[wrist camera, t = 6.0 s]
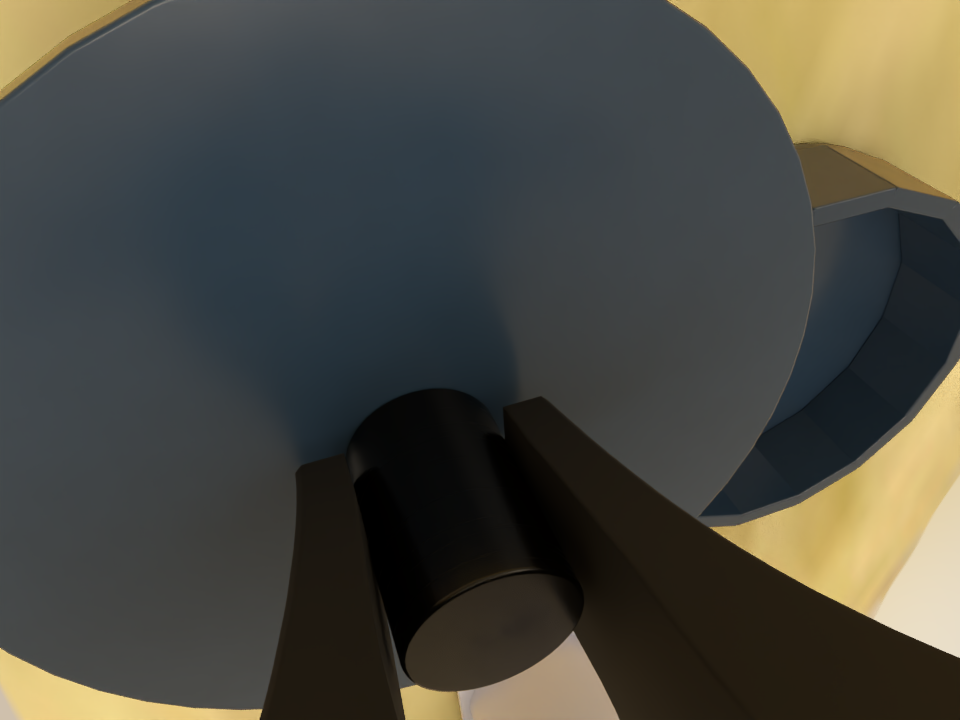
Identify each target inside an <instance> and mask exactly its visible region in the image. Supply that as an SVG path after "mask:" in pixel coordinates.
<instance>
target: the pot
mask: <svg viewBox="0 0 960 720" xmlns="http://www.w3.org/2000/svg"><path fill="white" fill-rule="evenodd" d="M794 146H795V148H796V150H797V153H798V155H799V157H800V160H801V164H802V168H803V172H804V176H805V180H806V184H807V187H808V191H809V195H810V199H811V203H812V213H813V225H814V236H815V247H816V250H815V266H814V282H813V294H812V299H811V304H810V309H809V314H808V319H807V324H806V329H805V334H804V337H803V340H802V343H801V346H800V349H799V352H798V355H797V358H796V361H795V364H794V367H793V370H792V373H791V375H790V378H789V380H788V382H787V384H786V386H785V389H784V391H783V393H782V395H781V397H780V399H779V402H778V404H777V406H776V408H775V410H774V412H773V414H772V416H771V417H770V419H769V421H768V423H767V424H766V426H765V428H764V429H763V431H762V433H761V434H760V436H759V438H758V440H757V441H756V443H755V445H754V446H753V448H752V449H751V451H750V452H749V454H748V455H747V456H746V458H745V459H744V461H743V462H742V463H741V465H740V466H739V468H738V469H737V470H736V472H735V473H734V475H733V476H732V477H731V479H730V480H729V481H728V483H727V484H726V485H725V486H724V487H723V488H722V490H721V491H720V492H719V493H718V494H717V496H716V497H715V498H714V499H713V500H712V501H711V503H710V504H709V505H708V506H707V507H706V508H705V510H704V511H703V512H702V513H701V514H700V515H699V516H698V517H697V518H696V519H697V520H699V521H700V522H701V523H703V524H704V525H706V526H707V527H722V526H736V525H740V524H743V523H746V522H749V521H752V520H754V519H757V518H760V517H763V516H766V515H769V514H772V513H775V512H777V511H780V510H783V509H786V508H789V507H792V506H795V505H797V504H799V503H801V502H803V501H804V500H806V499H808V498H809V497H811V496H813V495H814V494H816V493H818V492H819V491H821V490H823V489H824V488H826V487H828V486H829V485H831V484H833V483H834V482H836V481H838V480H839V479H841V478H843V477H844V476H846V475H848V474H849V473H851V472H853V471H854V470H856V469H857V468H859V467H860V466H861V465H862V464H863V463H865V462H866V461H867V460H868V459H869V458H870V457H871V456H873V455H874V454H875V453H876V452H877V451H878V450H879V449H881V448H882V447H883V446H884V445H885V444H886V443H887V442H889V441H890V440H891V439H892V438H893V437H894V436H895V435H896V434H898V433H899V432H900V431H901V430H902V429H903V428H904V427H906V426H907V425H908V424H909V423H910V422H911V421H912V420H913V419H914V418H915V417H916V415H917V414H918V413H919V411H920V410H921V409H922V408H923V406H924V405H925V404H926V402H927V401H928V400H929V399H930V397H931V396H932V395H933V393H934V392H935V391H936V389H937V388H938V387H939V386H940V384H941V383H942V382H943V380H944V379H945V378H946V377H947V375H948V374H949V373H950V371H951V370H952V369H953V368H954V366H955V365H956V364H957V362H958V361H959V359H960V203H959V202H958V201H956V200H955V199H953V198H951V197H949V196H948V195H946V194H944V193H942V192H940V191H939V190H937V189H935V188H933V187H931V186H929V185H928V184H926V183H924V182H922V181H920V180H919V179H917V178H915V177H913V176H911V175H910V174H908V173H906V172H904V171H902V170H901V169H899V168H897V167H895V166H893V165H892V164H890V163H888V162H886V161H884V160H883V159H879V158H876V157H872V156H868V155H865V154H863V153H861V152H858V151H855V150H853V149H850V148H847V147H844V146H838V145H831V144H825V143H821V144H796V145H794Z"/></svg>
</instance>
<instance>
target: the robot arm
mask: <svg viewBox="0 0 960 720" xmlns="http://www.w3.org/2000/svg"><path fill="white" fill-rule="evenodd" d="M503 418H504V434H505V441H506V443H507V445H508V447H509V449H510V451H511V453H512V455H513V457H514V458H515V460H516V462H517V464H518V466H519V468H520V470H521V472H522V474H523V476H524V478H525V479H526V481H527V483H528V485H529V487H530V489H531V491H532V493H533V495H534V497H535V499H536V501H537V502H538V504H539V506H540V508H541V510H542V512H543V514H544V516H545V518H546V520H547V522H548V523H549V525H550V527H551V529H552V531H553V533H554V535H555V537H556V539H557V541H558V543H559V545H560V546H561V548H562V550H563V552H564V554H565V556H566V558H567V560H568V562H569V564H570V566H571V567H572V569H573V571H574V573H575V575H576V577H577V579H578V581H579V583H580V585H581V587H582V590H583V593H584V607H583V612H582V615H581V618H580V620H579V622H578V624H577V625H576V627H575V628H574V630H573V631H572V633H571V634H570V635H569V636H568V638H567V639H566V640H565V641H564V642H563V643H562V644H561V645H560V646H559V647H558V648H557V649H556V650H554V651H553V652H552V653H551V654H550V655H548V656H547V657H546V658H544V659H543V660H542V661H540V662H539V663H537V664H535V665H534V666H532V667H531V668H529V669H527V670H525V671H523V672H522V673H519V674H517V675H515V676H513V677H511V678H509V679H506V680H504V681H501V682H498V683H495V684H492V685H489V686H486V687H482V688H478V689H473V690H467V691H458V692H457V695H458V700H459V706H460V712H461V717H462V720H960V658H958V657H956V656H953V655H951V654H949V653H946V652H944V651H942V650H939V649H937V648H934V647H932V646H930V645H928V644H926V643H923V642H921V641H919V640H916V639H914V638H912V637H909V636H907V635H905V634H903V633H900V632H898V631H896V630H894V629H891V628H889V627H887V626H885V625H883V624H881V623H879V622H877V621H875V620H873V619H871V618H869V617H867V616H865V615H863V614H861V613H859V612H857V611H855V610H853V609H851V608H849V607H847V606H845V605H843V604H841V603H839V602H837V601H835V600H833V599H831V598H829V597H827V596H825V595H823V594H821V593H819V592H817V591H815V590H813V589H811V588H809V587H807V586H805V585H804V584H802V583H800V582H798V581H796V580H795V579H793V578H791V577H789V576H788V575H786V574H784V573H782V572H780V571H779V570H777V569H775V568H773V567H771V566H770V565H768V564H766V563H765V562H763V561H761V560H760V559H758V558H756V557H755V556H753V555H751V554H750V553H748V552H746V551H745V550H743V549H741V548H740V547H738V546H737V545H735V544H733V543H732V542H730V541H729V540H727V539H726V538H724V537H722V536H721V535H719V534H718V533H716V532H715V531H713V530H712V529H710V528H709V527H707V526H706V525H704V524H703V523H701V522H700V521H699V520H697V519H696V518H694V517H693V516H691V515H690V514H688V513H687V512H686V511H684V510H683V509H681V508H680V507H678V506H677V505H676V504H674V503H673V502H671V501H670V500H669V499H667V498H666V497H665V496H663V495H662V494H660V493H659V492H658V491H656V490H655V489H654V488H653V487H651V486H650V485H649V484H647V483H646V482H645V481H643V480H642V479H641V478H640V477H638V476H637V475H636V474H634V473H633V472H632V471H631V470H629V469H628V468H627V467H625V466H624V465H623V464H622V463H620V462H619V461H618V460H617V459H615V458H614V457H613V456H612V455H610V454H609V453H608V452H607V451H606V450H604V449H603V448H602V447H601V446H600V445H598V444H597V443H596V442H595V441H594V440H593V439H591V438H590V437H589V436H588V435H587V434H585V433H584V432H583V431H582V430H581V429H580V428H579V427H577V426H576V425H575V424H574V423H573V422H572V421H571V420H569V419H568V418H567V417H566V416H565V415H564V414H563V413H562V412H560V411H559V410H558V409H557V408H556V407H555V406H554V405H553V404H552V403H551V402H549V401H548V400H547V399H545V398H544V397H542V396H539V397H536V398H532V399H529V400H525V401H522V402H518V403H515V404H511V405H508V406H505V407H503ZM295 478H296V526H295V537H294V549H293V557H292V564H291V571H290V578H289V585H288V593H287V600H286V605H285V611H284V616H283V621H282V626H281V631H280V636H279V641H278V645H277V650H276V655H275V660H274V665H273V669H272V674H271V678H270V682H269V686H268V690H267V694H266V698H265V702H264V706H263V709H262V713H261V717H260V720H405V715H404V709H403V704H402V698H401V692H400V687H399V681H398V676H397V670H396V665H395V659H394V654H393V648H392V642H391V637H390V631H389V626H388V620H387V615H386V612H385V608H384V605H383V601H382V598H381V594H380V590H379V587H378V583H377V580H376V576H375V573H374V568H373V564H372V559H371V554H370V549H369V543H368V539H367V535H366V531H365V527H364V524H363V520H362V516H361V512H360V508H359V504H358V501H357V497H356V493H355V489H354V486H353V483H352V479H351V476H350V472H349V469H348V465H347V462H346V459H345V455H344V453H342V454H338V455H335V456H331V457H328V458H324V459H321V460H317V461H314V462H310V463H307V464H304V465H301V466H300V467H299V469H298V470H297V471H296V472H295Z"/></svg>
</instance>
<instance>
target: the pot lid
mask: <svg viewBox="0 0 960 720" xmlns="http://www.w3.org/2000/svg"><path fill="white" fill-rule="evenodd" d="M815 250H816V247H815V236H814V225H813V213H812V203H811V199H810V195H809V191H808V187H807V184H806V180H805V176H804V172H803V168H802V164H801V160H800V157H799V155H798V153H797V150H796V148H795V146H794V144H793V142H792V140H791V137H790V135H789V133H788V131H787V129H786V126H785V124H784V122H783V120H782V118H781V115H780V113H779V111H778V110H777V108H776V107H775V105H774V104H773V102H772V101H771V100H770V98H769V97H768V95H767V94H766V92H765V91H764V90H763V88H762V87H761V85H760V84H759V82H758V81H757V80H756V78H755V77H754V75H753V74H752V72H751V71H750V70H749V68H748V67H747V66H746V65H745V64H744V63H743V62H742V61H741V60H740V59H739V58H738V57H737V56H736V55H735V54H734V53H733V52H732V51H731V50H730V49H729V48H728V47H727V46H726V45H725V44H724V43H723V42H721V41H720V40H719V39H718V38H717V37H716V36H715V35H714V34H713V33H712V32H711V31H710V30H709V29H708V28H707V27H706V26H704V25H703V24H702V23H700V22H699V21H697V20H696V19H694V18H693V17H691V16H690V15H688V14H687V13H685V12H684V11H682V10H681V9H679V8H678V7H676V6H675V5H673V4H672V3H670V2H669V1H667V0H132V1H130V2H128V3H126V4H125V5H123V6H121V7H119V8H118V9H116V10H114V11H112V12H111V13H109V14H107V15H105V16H103V17H102V18H100V19H98V20H96V21H95V22H93V23H91V24H89V25H88V26H86V27H84V28H82V29H80V30H79V31H77V32H75V33H73V34H72V35H70V36H68V37H67V38H66V39H65V40H63V41H62V42H61V43H60V44H58V45H57V46H56V47H55V48H53V49H52V50H51V51H50V52H48V53H47V54H46V55H45V56H43V57H42V58H41V59H39V60H38V61H37V62H36V63H34V64H33V65H32V66H31V67H29V68H28V69H27V70H26V71H24V72H23V73H22V74H21V75H19V76H18V77H17V78H16V79H14V80H13V81H12V82H11V83H9V84H8V85H7V86H6V87H4V88H3V89H2V90H0V648H1V649H3V650H4V651H6V652H7V653H9V654H11V655H13V656H15V657H17V658H19V659H21V660H23V661H25V662H28V663H30V664H32V665H34V666H36V667H38V668H40V669H42V670H44V671H46V672H48V673H50V674H52V675H55V676H58V677H61V678H64V679H66V680H69V681H72V682H75V683H78V684H81V685H84V686H87V687H90V688H93V689H96V690H98V691H102V692H107V693H111V694H115V695H120V696H124V697H128V698H133V699H137V700H141V701H146V702H153V703H160V704H168V705H176V706H183V707H191V708H208V709H231V710H251V709H263V706H264V702H265V698H266V694H267V690H268V686H269V682H270V678H271V674H272V669H273V665H274V660H275V655H276V650H277V645H278V641H279V636H280V631H281V626H282V621H283V616H284V611H285V605H286V600H287V593H288V585H289V578H290V571H291V564H292V557H293V549H294V537H295V526H296V478H295V472H296V471H297V470H298V469H299V467H300V466H301V465H304V464H307V463H310V462H314V461H317V460H321V459H324V458H328V457H331V456H335V455H338V454H342V453H344V455H345V459H346V462H347V465H348V469H349V472H350V476H351V479H352V483H353V486H354V489H355V493H356V497H357V501H358V504H359V508H360V512H361V516H362V520H363V524H364V527H365V531H366V535H367V539H368V543H369V549H370V554H371V559H372V564H373V568H374V573H375V576H376V580H377V583H378V587H379V590H380V594H381V598H382V601H383V605H384V608H385V612H386V615H387V620H388V626H389V631H390V637H391V642H392V648H393V654H394V659H395V665H396V670H397V676H398V681H399V687H400V689H401V688H405V687H409V686H413V685H418V686H420V687H423V688H426V689H429V690H434V691H441V692H458V691H467V690H473V689H478V688H482V687H486V686H489V685H492V684H495V683H498V682H501V681H504V680H506V679H509V678H511V677H513V676H515V675H517V674H519V673H522V672H523V671H525V670H527V669H529V668H531V667H532V666H534V665H535V664H537V663H539V662H540V661H542V660H543V659H544V658H546V657H547V656H548V655H550V654H551V653H552V652H553V651H554V650H556V649H557V648H558V647H559V646H560V645H561V644H562V643H563V642H564V641H565V640H566V639H567V638H568V636H569V635H570V634H571V633H572V631H573V630H574V628H575V627H576V625H577V624H578V622H579V620H580V618H581V615H582V612H583V607H584V593H583V590H582V587H581V585H580V583H579V581H578V579H577V577H576V575H575V573H574V571H573V569H572V567H571V566H570V564H569V562H568V560H567V558H566V556H565V554H564V552H563V550H562V548H561V546H560V545H559V543H558V541H557V539H556V537H555V535H554V533H553V531H552V529H551V527H550V525H549V523H548V522H547V520H546V518H545V516H544V514H543V512H542V510H541V508H540V506H539V504H538V502H537V501H536V499H535V497H534V495H533V493H532V491H531V489H530V487H529V485H528V483H527V481H526V479H525V478H524V476H523V474H522V472H521V470H520V468H519V466H518V464H517V462H516V460H515V458H514V457H513V455H512V453H511V451H510V449H509V447H508V445H507V443H506V441H505V434H504V418H503V407H505V406H508V405H511V404H515V403H518V402H522V401H525V400H529V399H532V398H536V397H539V396H542V397H544V398H545V399H547V400H548V401H549V402H551V403H552V404H553V405H554V406H555V407H556V408H557V409H558V410H559V411H560V412H562V413H563V414H564V415H565V416H566V417H567V418H568V419H569V420H571V421H572V422H573V423H574V424H575V425H576V426H577V427H579V428H580V429H581V430H582V431H583V432H584V433H585V434H587V435H588V436H589V437H590V438H591V439H593V440H594V441H595V442H596V443H597V444H598V445H600V446H601V447H602V448H603V449H604V450H606V451H607V452H608V453H609V454H610V455H612V456H613V457H614V458H615V459H617V460H618V461H619V462H620V463H622V464H623V465H624V466H625V467H627V468H628V469H629V470H631V471H632V472H633V473H634V474H636V475H637V476H638V477H640V478H641V479H642V480H643V481H645V482H646V483H647V484H649V485H650V486H651V487H653V488H654V489H655V490H656V491H658V492H659V493H660V494H662V495H663V496H665V497H666V498H667V499H669V500H670V501H671V502H673V503H674V504H676V505H677V506H678V507H680V508H681V509H683V510H684V511H686V512H687V513H688V514H690V515H691V516H693V517H694V518H697V517H698V516H699V515H700V514H701V513H702V512H703V511H704V510H705V508H706V507H707V506H708V505H709V504H710V503H711V501H712V500H713V499H714V498H715V497H716V496H717V494H718V493H719V492H720V491H721V490H722V488H723V487H724V486H725V485H726V484H727V483H728V481H729V480H730V479H731V477H732V476H733V475H734V473H735V472H736V470H737V469H738V468H739V466H740V465H741V463H742V462H743V461H744V459H745V458H746V456H747V455H748V454H749V452H750V451H751V449H752V448H753V446H754V445H755V443H756V441H757V440H758V438H759V436H760V434H761V433H762V431H763V429H764V428H765V426H766V424H767V423H768V421H769V419H770V417H771V416H772V414H773V412H774V410H775V408H776V406H777V404H778V402H779V399H780V397H781V395H782V393H783V391H784V389H785V386H786V384H787V382H788V380H789V378H790V375H791V373H792V370H793V367H794V364H795V361H796V358H797V355H798V352H799V349H800V346H801V343H802V340H803V337H804V334H805V329H806V324H807V319H808V314H809V309H810V304H811V299H812V294H813V282H814V266H815Z"/></svg>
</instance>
